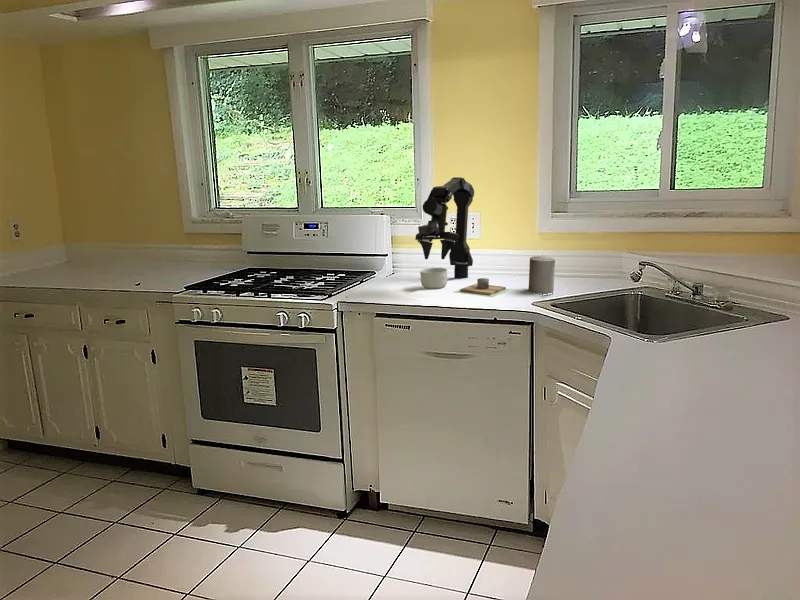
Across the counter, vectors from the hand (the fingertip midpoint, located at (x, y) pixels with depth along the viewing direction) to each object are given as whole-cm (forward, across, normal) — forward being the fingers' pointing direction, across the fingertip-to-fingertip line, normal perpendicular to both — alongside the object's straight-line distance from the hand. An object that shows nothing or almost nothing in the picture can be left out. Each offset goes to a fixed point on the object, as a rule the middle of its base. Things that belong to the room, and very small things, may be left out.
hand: (434, 259), depth 266 cm
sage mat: (+11, +11, +17) cm, 23 cm away
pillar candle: (+9, +27, +33) cm, 43 cm away
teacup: (+11, -8, +10) cm, 17 cm away
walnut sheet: (+10, +12, +17) cm, 23 cm away
